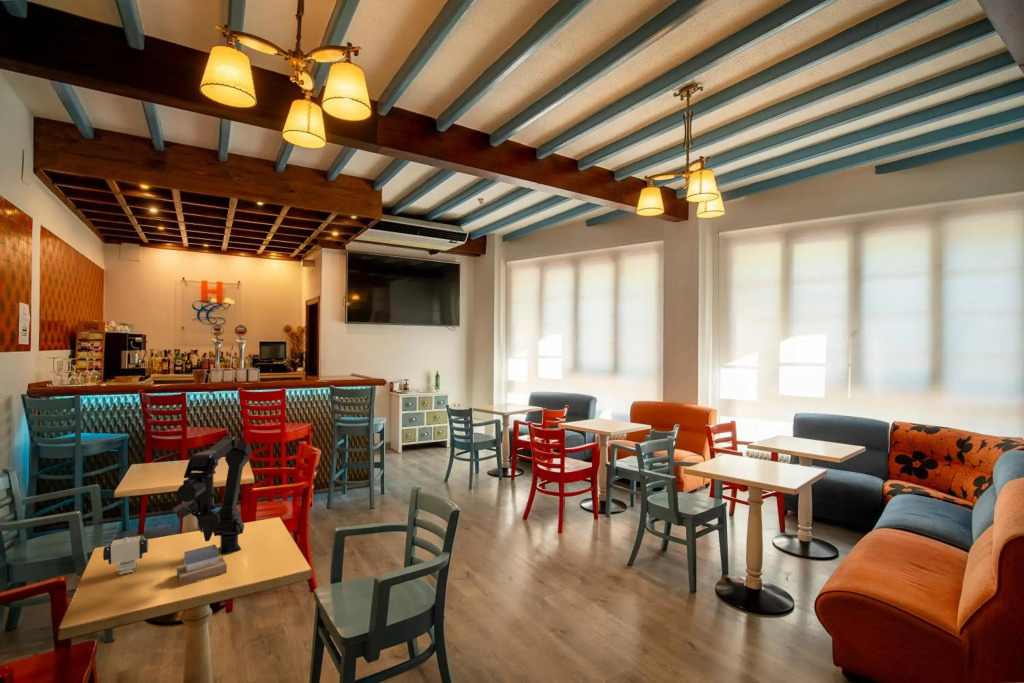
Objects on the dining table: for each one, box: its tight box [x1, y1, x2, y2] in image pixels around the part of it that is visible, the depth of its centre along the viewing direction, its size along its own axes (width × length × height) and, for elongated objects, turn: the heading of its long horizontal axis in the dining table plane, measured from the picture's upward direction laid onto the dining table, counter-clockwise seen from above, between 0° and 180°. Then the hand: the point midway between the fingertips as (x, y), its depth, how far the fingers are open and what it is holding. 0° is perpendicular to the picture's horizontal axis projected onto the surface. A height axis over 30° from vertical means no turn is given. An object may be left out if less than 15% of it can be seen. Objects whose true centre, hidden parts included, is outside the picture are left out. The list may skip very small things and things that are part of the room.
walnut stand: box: [176, 554, 228, 586], centre depth 168 cm, size 9×13×3 cm
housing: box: [183, 544, 219, 572], centre depth 168 cm, size 9×5×5 cm, turn 131°
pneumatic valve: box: [102, 535, 150, 575], centre depth 169 cm, size 6×12×12 cm, turn 120°
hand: (204, 536), depth 169 cm, fingers open, 9 cm apart
